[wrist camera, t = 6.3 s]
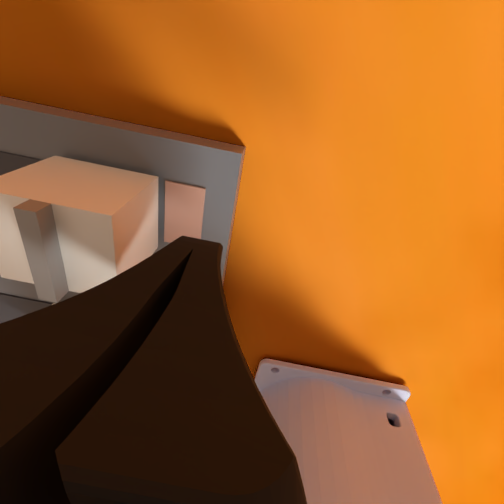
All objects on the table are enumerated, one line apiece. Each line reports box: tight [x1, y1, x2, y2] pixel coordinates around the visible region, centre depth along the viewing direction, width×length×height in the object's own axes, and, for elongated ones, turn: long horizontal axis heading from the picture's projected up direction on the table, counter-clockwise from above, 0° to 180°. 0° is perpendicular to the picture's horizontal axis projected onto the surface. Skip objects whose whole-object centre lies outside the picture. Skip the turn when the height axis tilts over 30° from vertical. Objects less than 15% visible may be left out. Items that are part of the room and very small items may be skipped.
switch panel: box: [0, 96, 245, 323], centre depth 15 cm, size 18×16×1 cm
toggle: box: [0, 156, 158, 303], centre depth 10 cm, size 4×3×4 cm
